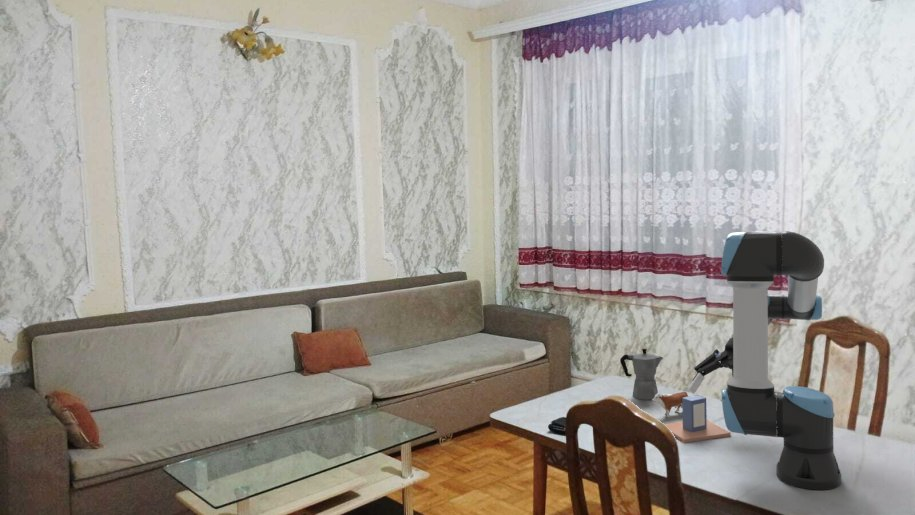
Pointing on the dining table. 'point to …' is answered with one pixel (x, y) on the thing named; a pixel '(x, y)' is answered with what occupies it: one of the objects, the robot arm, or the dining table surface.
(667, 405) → the bull figurine
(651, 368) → the coffeepot
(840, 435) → the dining table surface
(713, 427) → the plate
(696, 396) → the block
